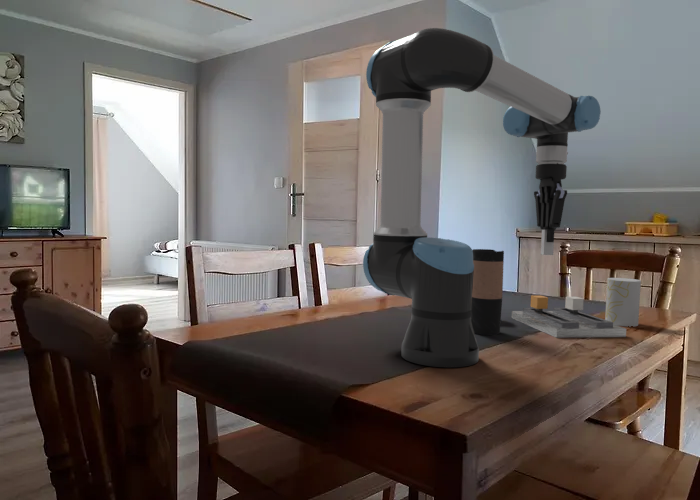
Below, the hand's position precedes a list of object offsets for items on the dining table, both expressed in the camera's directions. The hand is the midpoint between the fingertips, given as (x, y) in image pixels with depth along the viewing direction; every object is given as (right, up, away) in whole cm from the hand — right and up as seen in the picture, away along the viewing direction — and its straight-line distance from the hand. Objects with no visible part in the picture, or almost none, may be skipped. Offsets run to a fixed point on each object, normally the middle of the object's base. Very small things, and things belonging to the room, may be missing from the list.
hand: (546, 254), depth 147 cm
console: (+4, -19, -1) cm, 19 cm away
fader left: (-1, -16, +3) cm, 16 cm away
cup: (+22, -19, +6) cm, 30 cm away
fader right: (+8, -16, +3) cm, 18 cm away
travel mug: (-19, -19, -10) cm, 29 cm away
